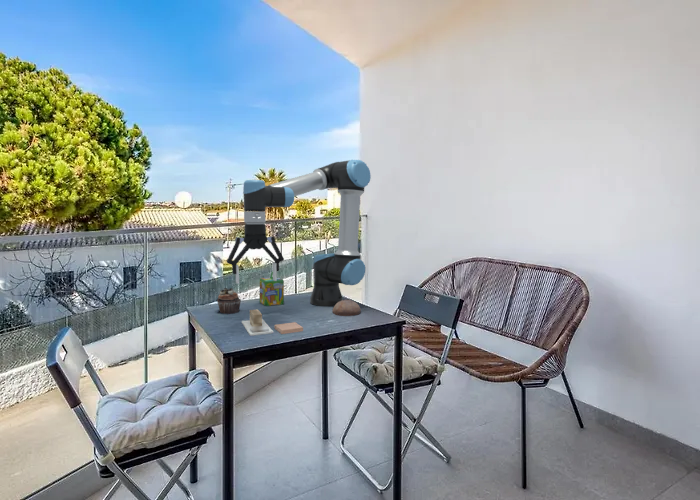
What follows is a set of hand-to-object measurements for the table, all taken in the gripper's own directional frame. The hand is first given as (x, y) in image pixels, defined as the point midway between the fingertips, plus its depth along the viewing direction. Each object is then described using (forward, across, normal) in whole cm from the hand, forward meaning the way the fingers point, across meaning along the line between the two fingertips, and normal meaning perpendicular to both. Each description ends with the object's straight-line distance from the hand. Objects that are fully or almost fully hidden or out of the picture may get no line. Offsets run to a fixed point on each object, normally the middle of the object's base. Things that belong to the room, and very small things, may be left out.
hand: (256, 281), depth 149 cm
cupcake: (+17, -6, +27) cm, 33 cm away
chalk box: (+17, +14, +35) cm, 42 cm away
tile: (+16, +9, -4) cm, 19 cm away
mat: (+17, 0, -1) cm, 17 cm away
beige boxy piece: (+16, -1, -3) cm, 16 cm away
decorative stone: (+18, +39, +6) cm, 43 cm away
